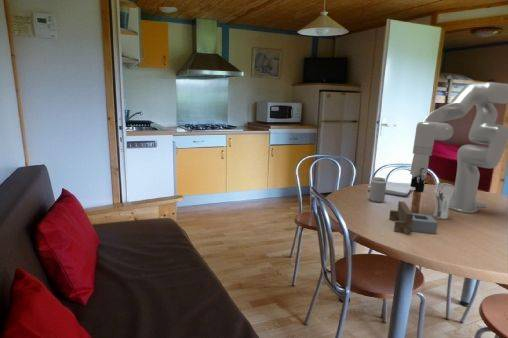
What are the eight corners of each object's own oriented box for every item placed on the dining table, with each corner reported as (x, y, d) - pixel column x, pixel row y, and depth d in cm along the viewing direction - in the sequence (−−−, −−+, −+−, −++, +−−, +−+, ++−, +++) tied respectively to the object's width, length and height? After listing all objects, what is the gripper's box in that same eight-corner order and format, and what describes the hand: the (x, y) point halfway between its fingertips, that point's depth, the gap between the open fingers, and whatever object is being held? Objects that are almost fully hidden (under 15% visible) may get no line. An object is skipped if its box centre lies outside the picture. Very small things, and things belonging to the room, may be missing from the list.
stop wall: (402, 219, 150) (404, 201, 149) (410, 234, 133) (413, 214, 132) (388, 217, 152) (390, 200, 150) (395, 232, 134) (397, 212, 133)
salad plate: (407, 198, 185) (407, 192, 185) (366, 192, 196) (367, 186, 195) (412, 190, 203) (413, 185, 202) (375, 185, 214) (376, 179, 213)
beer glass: (447, 215, 158) (452, 183, 155) (450, 220, 151) (456, 187, 148) (431, 213, 160) (435, 182, 157) (433, 218, 154) (438, 185, 151)
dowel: (417, 215, 156) (420, 190, 153) (418, 218, 153) (422, 191, 150) (409, 215, 157) (412, 189, 154) (410, 217, 154) (414, 191, 151)
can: (386, 203, 174) (389, 180, 172) (371, 202, 174) (373, 179, 172) (381, 199, 182) (383, 176, 179) (367, 198, 182) (369, 176, 179)
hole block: (429, 225, 144) (431, 214, 143) (435, 233, 135) (437, 222, 134) (404, 222, 146) (405, 212, 146) (408, 230, 137) (409, 219, 136)
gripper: (409, 148, 158) (403, 184, 161) (417, 152, 141) (411, 193, 144) (427, 149, 156) (421, 186, 159) (437, 154, 140) (430, 195, 143)
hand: (416, 189), depth 152 cm, fingers open, 9 cm apart
